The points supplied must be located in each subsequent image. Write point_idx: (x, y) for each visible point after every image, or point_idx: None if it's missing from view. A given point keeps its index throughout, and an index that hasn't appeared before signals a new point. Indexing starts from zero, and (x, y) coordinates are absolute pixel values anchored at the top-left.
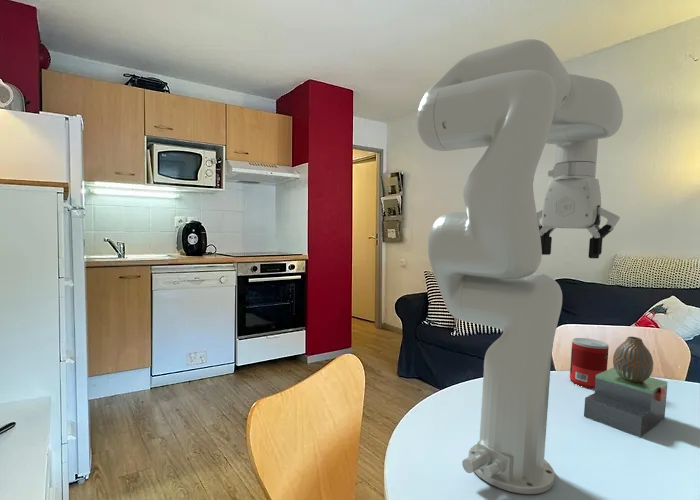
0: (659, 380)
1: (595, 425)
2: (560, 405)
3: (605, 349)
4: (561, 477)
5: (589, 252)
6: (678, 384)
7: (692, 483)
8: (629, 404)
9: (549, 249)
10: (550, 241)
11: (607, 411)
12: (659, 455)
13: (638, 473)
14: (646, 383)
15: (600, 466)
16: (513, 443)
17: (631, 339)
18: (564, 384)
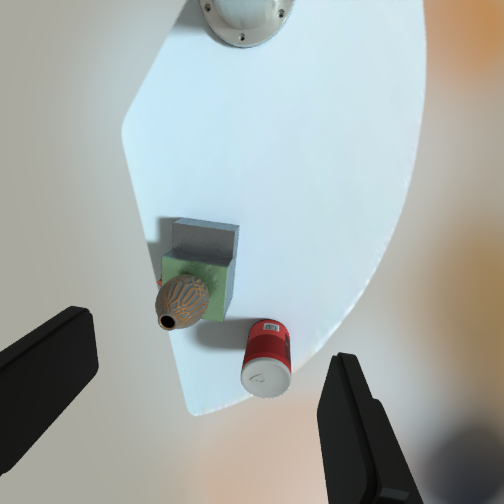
0: None
1: (222, 210)
2: (269, 237)
3: (242, 368)
4: (203, 34)
5: (65, 325)
6: (199, 403)
7: (125, 150)
8: (193, 252)
9: (324, 427)
10: (332, 494)
11: (210, 225)
12: (159, 188)
13: (159, 125)
14: None
15: (186, 104)
16: None
17: (168, 312)
18: (289, 312)
